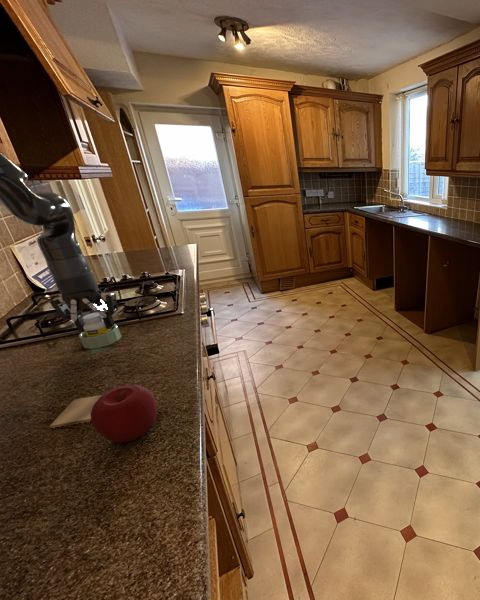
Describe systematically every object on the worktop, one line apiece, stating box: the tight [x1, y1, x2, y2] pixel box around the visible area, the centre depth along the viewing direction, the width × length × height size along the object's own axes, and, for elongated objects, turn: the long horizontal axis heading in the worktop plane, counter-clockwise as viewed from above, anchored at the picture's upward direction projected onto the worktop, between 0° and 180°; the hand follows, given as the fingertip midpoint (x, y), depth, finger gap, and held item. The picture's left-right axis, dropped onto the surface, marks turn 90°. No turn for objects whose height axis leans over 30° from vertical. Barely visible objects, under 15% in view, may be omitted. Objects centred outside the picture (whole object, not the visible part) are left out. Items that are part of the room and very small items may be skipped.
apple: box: [90, 384, 158, 443], centre depth 62 cm, size 10×10×10 cm
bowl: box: [78, 323, 123, 355], centre depth 92 cm, size 8×8×5 cm
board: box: [49, 394, 103, 429], centre depth 69 cm, size 10×8×1 cm
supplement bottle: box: [82, 312, 112, 337], centre depth 91 cm, size 5×5×10 cm
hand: (97, 329), depth 91 cm, fingers closed on supplement bottle, 5 cm apart
